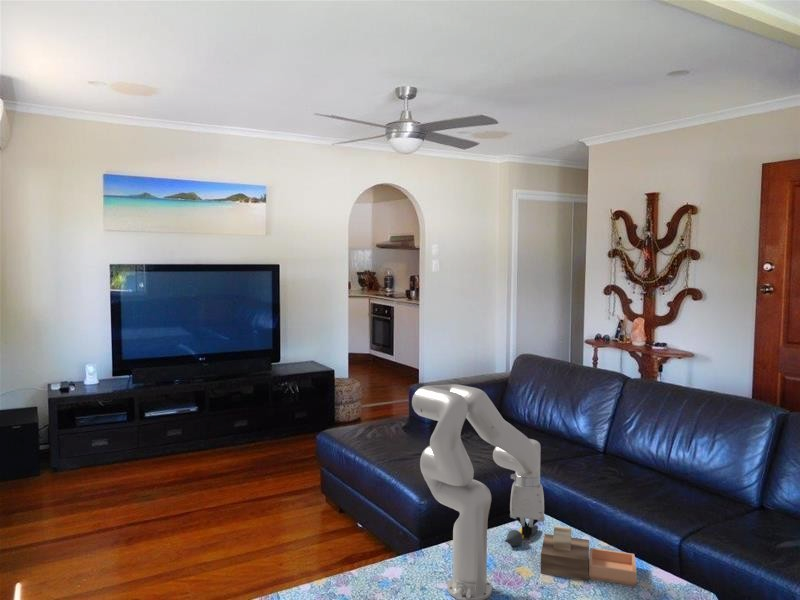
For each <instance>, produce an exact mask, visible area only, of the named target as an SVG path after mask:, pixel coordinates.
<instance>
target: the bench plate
mask: <svg viewBox="0 0 800 600" xmlns="http://www.w3.org/2000/svg"><path fill="white" fill-rule="evenodd" d="M589 556H590V539H586V538H579V537H578V538H577V537H572V536H571V550H570V551H567V550H560V549H553V534H550V533H544V537H543V542H542V546H541V552H540V574H545V575H549V576H557V577H563V578H570V579H577V580H583V581H589Z"/></svg>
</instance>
